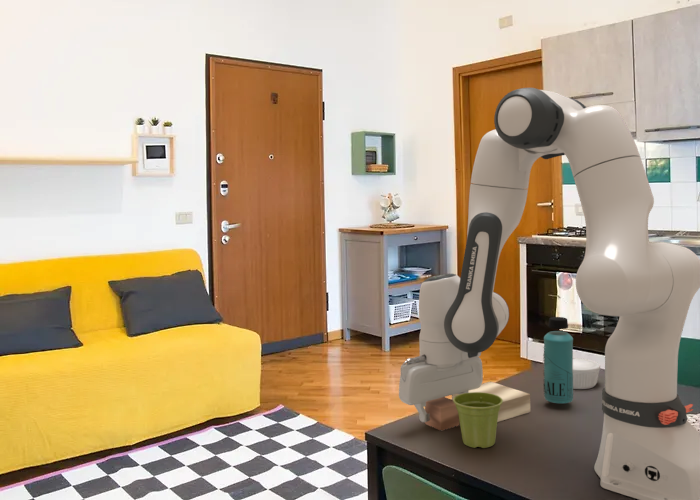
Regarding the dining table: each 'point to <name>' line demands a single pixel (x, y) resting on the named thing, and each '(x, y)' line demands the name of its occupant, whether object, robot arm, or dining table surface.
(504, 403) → the birch base
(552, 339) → the beverage bottle
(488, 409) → the plant pot
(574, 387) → the ramekin
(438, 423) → the terracotta cube
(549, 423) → the dining table surface
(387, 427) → the dining table surface
